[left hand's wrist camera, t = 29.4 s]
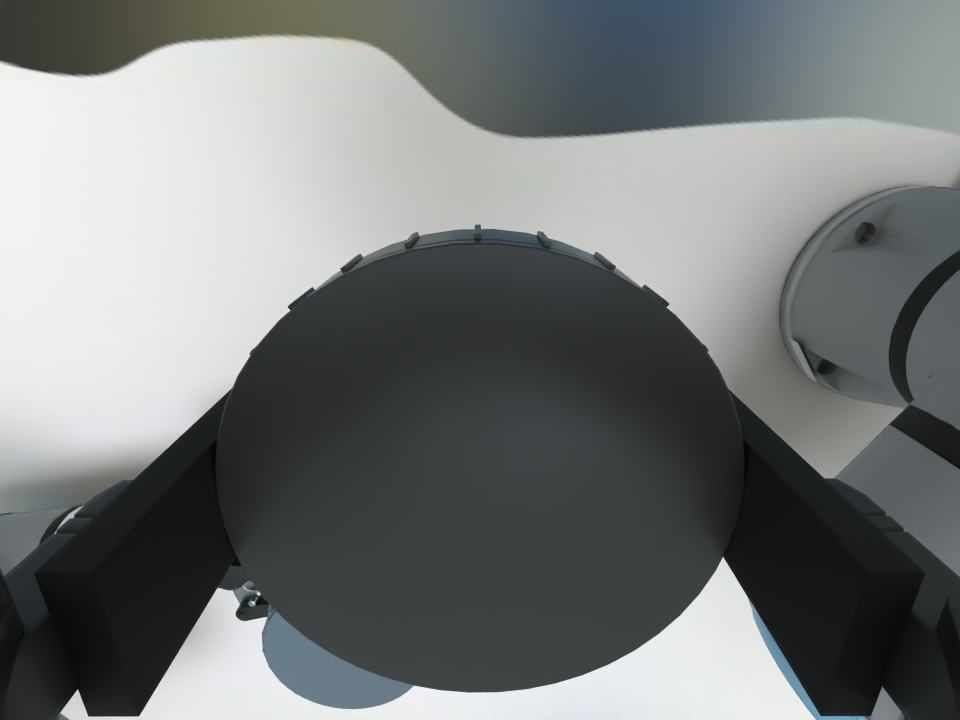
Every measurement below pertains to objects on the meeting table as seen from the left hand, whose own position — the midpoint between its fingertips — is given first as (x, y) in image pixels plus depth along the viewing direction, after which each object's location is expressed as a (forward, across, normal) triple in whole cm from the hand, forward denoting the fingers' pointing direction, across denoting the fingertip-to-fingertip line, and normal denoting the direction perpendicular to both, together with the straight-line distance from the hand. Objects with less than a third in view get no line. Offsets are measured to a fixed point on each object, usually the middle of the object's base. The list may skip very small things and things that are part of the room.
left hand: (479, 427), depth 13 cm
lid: (-3, 0, 0) cm, 3 cm away
